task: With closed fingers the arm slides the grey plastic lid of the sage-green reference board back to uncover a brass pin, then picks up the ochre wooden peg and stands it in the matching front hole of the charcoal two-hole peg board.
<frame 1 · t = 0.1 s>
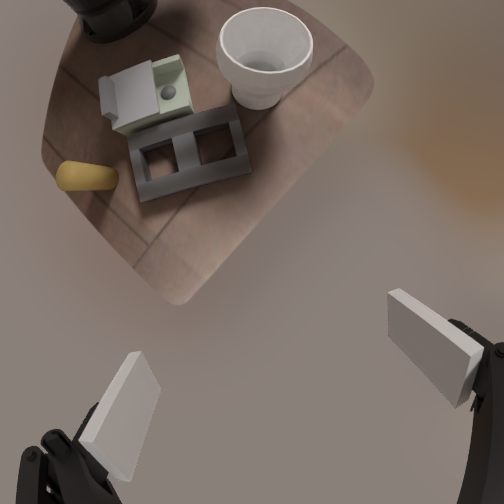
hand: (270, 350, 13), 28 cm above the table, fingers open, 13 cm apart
peg: (109, 178, 37), on the table
peg board: (189, 154, 37), on the table
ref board: (154, 99, 35), on the table
cup: (257, 88, 35), on the table
lid: (127, 90, 28), point 6 cm above the table, slide at 0.0 cm
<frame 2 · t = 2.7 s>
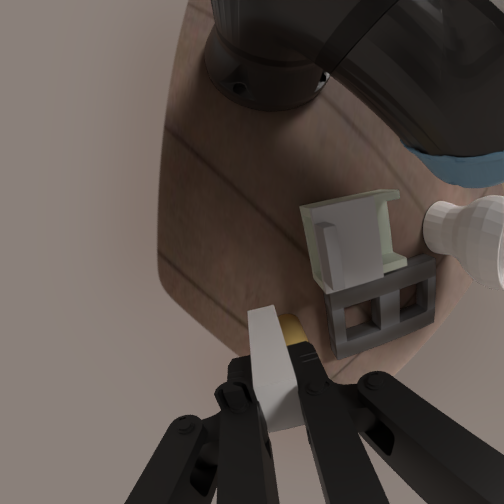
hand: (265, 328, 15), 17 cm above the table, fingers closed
peg: (286, 326, 34), on the table
peg board: (380, 301, 34), on the table
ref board: (348, 233, 32), on the table
cup: (440, 227, 32), on the table
lid: (355, 247, 25), point 7 cm above the table, slide at 0.0 cm
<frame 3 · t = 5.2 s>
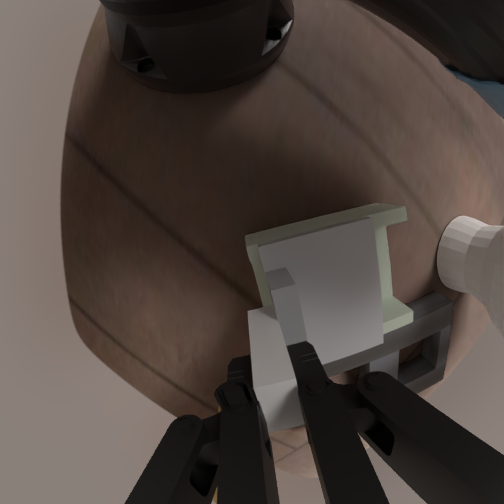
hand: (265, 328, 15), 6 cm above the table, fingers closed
peg board: (371, 359, 23), on the table
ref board: (325, 272, 21), on the table
cup: (459, 252, 22), on the table
lid: (337, 309, 15), point 6 cm above the table, slide at 0.7 cm, touching gripper
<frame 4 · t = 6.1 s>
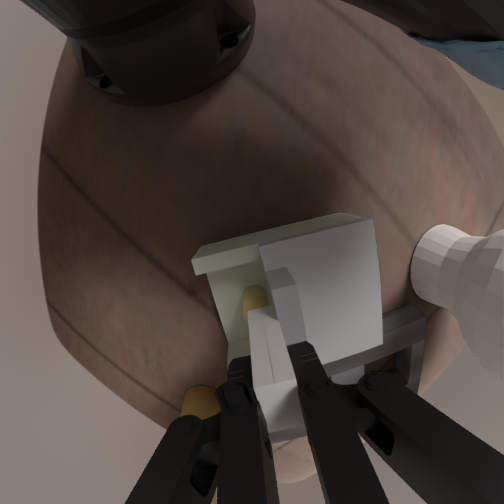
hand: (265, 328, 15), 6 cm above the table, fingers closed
peg: (203, 398, 23), on the table
peg board: (339, 371, 23), on the table
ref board: (284, 283, 21), on the table
cup: (437, 263, 22), on the table
lid: (337, 310, 15), point 7 cm above the table, slide at 4.1 cm, touching gripper
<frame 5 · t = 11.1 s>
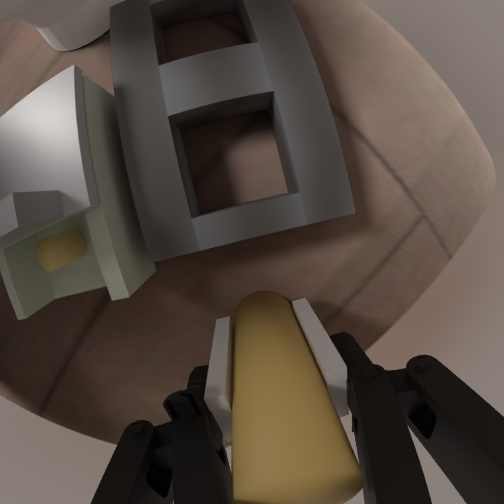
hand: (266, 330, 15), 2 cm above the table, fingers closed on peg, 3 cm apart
peg: (263, 318, 16), on the table, touching gripper
peg board: (218, 95, 13), on the table
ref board: (74, 203, 14), on the table
cup: (90, 14, 11), on the table
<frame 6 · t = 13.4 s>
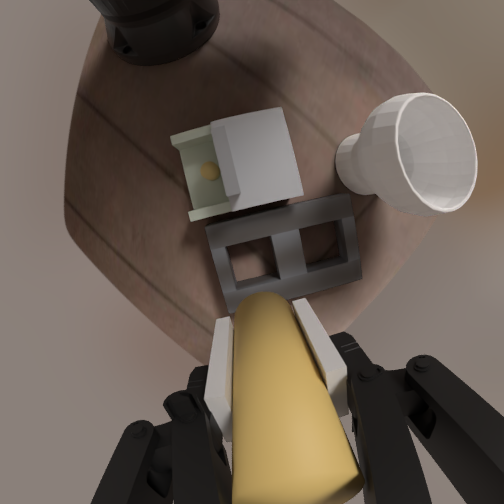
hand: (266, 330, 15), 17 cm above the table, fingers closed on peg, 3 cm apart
peg: (263, 318, 16), point 16 cm above the table, touching gripper
peg board: (285, 249, 32), on the table
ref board: (234, 167, 30), on the table
cup: (362, 164, 30), on the table
lid: (258, 155, 23), point 6 cm above the table, slide at 4.3 cm
when the fingers open (4 cm above the table, at t = 15.9 s): peg drops 1 cm, resting in peg board.
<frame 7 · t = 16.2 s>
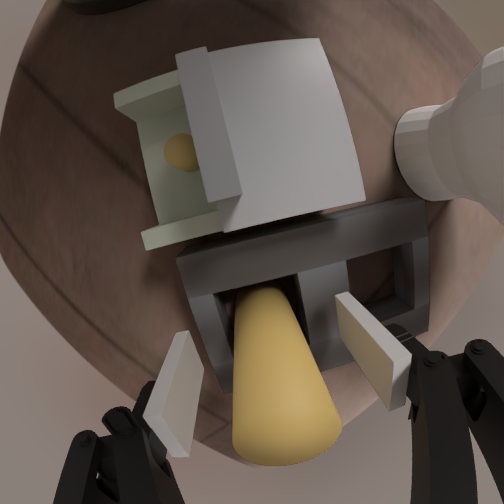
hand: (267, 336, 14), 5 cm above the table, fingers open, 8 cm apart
peg: (261, 302, 19), resting in peg board
peg board: (315, 288, 19), on the table
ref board: (230, 149, 17), on the table
cup: (429, 154, 17), on the table
lid: (279, 114, 10), point 6 cm above the table, slide at 4.3 cm
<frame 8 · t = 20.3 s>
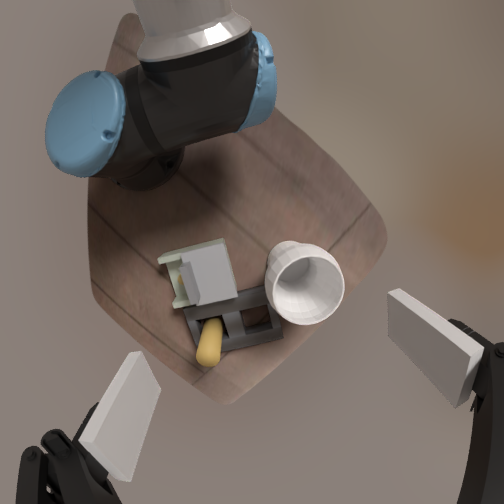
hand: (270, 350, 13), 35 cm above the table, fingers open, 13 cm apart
peg: (214, 322, 50), resting in peg board
peg board: (234, 317, 50), on the table
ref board: (200, 269, 47), on the table
cup: (288, 261, 48), on the table
lid: (208, 277, 41), point 7 cm above the table, slide at 4.3 cm
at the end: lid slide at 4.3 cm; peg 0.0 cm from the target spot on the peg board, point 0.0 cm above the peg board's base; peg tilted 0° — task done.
